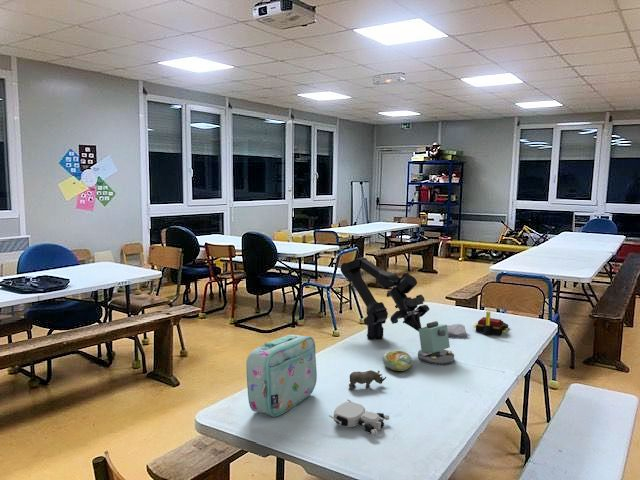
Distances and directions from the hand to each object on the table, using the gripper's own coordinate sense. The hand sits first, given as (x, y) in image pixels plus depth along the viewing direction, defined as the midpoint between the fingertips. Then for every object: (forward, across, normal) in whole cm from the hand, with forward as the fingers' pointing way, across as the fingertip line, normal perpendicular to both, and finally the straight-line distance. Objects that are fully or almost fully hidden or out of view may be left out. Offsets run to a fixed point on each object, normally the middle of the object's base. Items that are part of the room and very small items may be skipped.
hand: (420, 331), depth 205 cm
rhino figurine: (+14, -40, -1) cm, 43 cm away
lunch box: (+10, -70, +4) cm, 71 cm away
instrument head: (+10, 0, -2) cm, 10 cm away
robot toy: (+27, -61, -14) cm, 68 cm away
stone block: (+2, +32, +12) cm, 34 cm away
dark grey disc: (+12, 0, +1) cm, 12 cm away
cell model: (+10, -18, +4) cm, 21 cm away
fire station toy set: (+7, +52, +7) cm, 53 cm away
